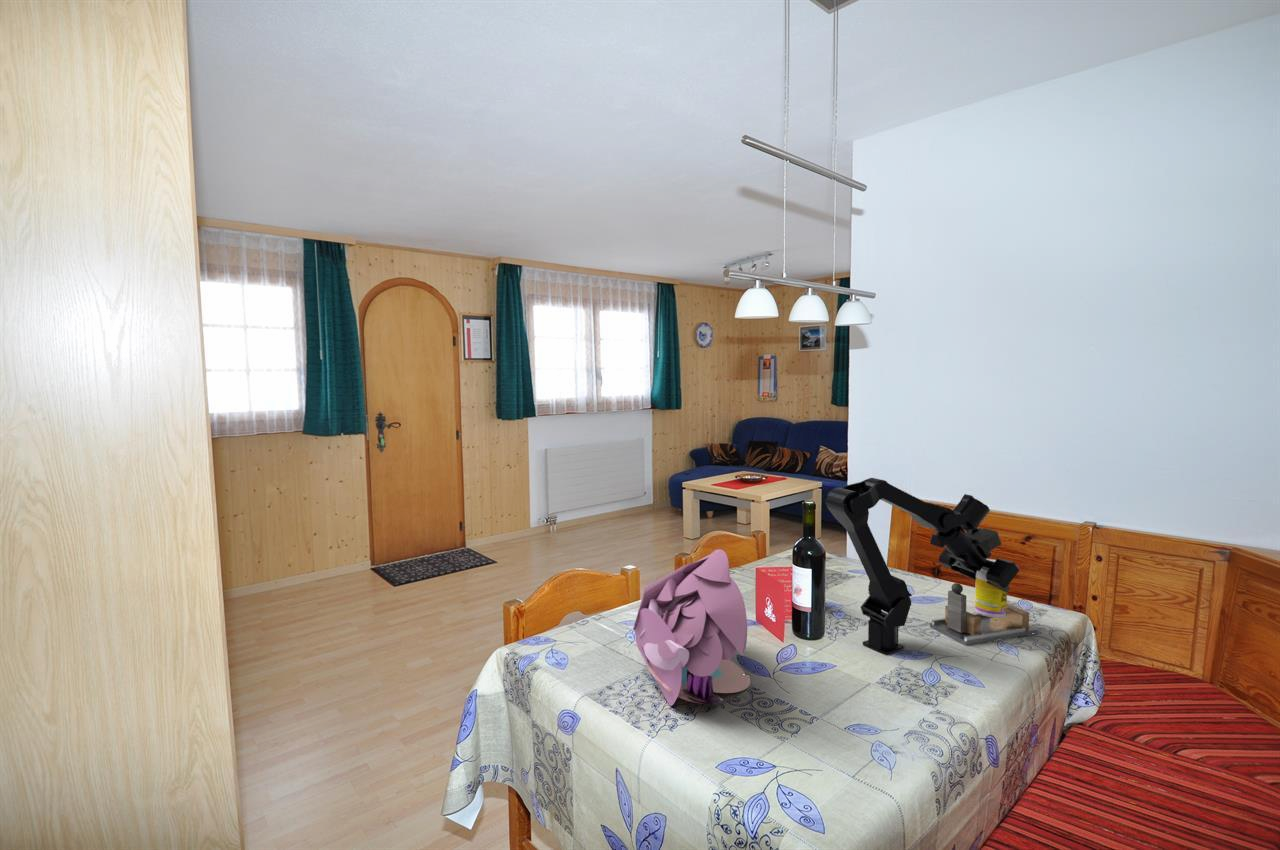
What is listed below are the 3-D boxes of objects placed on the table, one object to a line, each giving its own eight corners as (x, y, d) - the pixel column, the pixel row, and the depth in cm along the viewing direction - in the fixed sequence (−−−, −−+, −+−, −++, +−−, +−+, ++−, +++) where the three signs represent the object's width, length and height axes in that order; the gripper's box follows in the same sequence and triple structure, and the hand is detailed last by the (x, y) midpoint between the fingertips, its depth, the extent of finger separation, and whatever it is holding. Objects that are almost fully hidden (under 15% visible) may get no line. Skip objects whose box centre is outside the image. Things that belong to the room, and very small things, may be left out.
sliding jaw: (966, 637, 135) (967, 589, 135) (938, 622, 144) (939, 578, 143) (980, 634, 136) (981, 587, 136) (951, 620, 145) (952, 576, 144)
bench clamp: (965, 645, 134) (965, 624, 134) (929, 626, 144) (929, 607, 144) (1037, 633, 140) (1038, 613, 139) (997, 616, 150) (998, 597, 150)
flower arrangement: (782, 732, 110) (816, 588, 108) (669, 738, 101) (705, 581, 99) (697, 641, 142) (722, 528, 140) (606, 639, 133) (632, 519, 131)
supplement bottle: (1004, 621, 138) (1007, 567, 137) (972, 614, 142) (974, 562, 141) (1007, 612, 143) (1009, 560, 142) (976, 606, 147) (978, 556, 146)
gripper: (1014, 527, 131) (1050, 572, 135) (949, 511, 149) (983, 551, 153) (984, 565, 129) (1022, 609, 133) (922, 544, 147) (957, 583, 151)
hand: (995, 586), depth 142 cm, fingers closed on supplement bottle, 7 cm apart
